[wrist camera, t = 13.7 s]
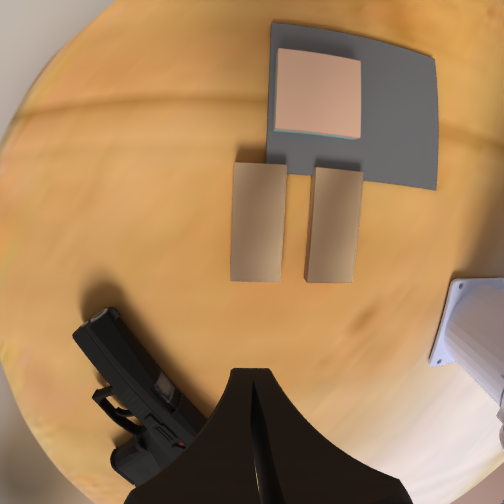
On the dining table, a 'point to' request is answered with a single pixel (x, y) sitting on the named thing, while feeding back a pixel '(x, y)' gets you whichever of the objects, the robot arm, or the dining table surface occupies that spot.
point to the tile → (317, 94)
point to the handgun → (137, 398)
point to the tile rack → (272, 223)
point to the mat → (366, 112)
